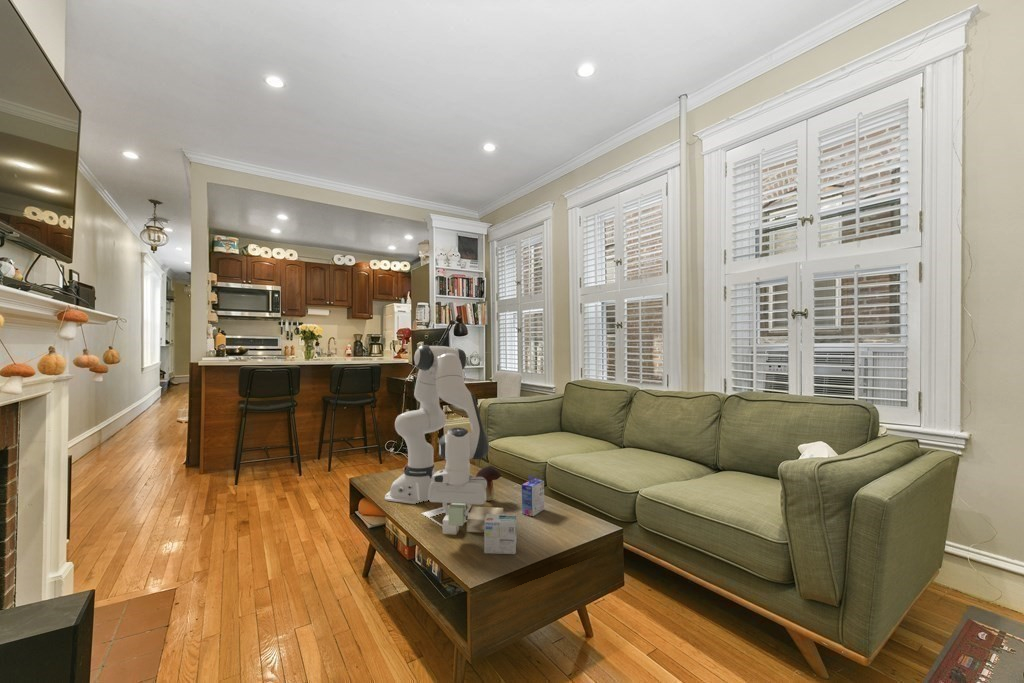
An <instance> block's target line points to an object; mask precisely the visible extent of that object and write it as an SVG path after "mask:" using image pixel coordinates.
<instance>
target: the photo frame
mask: <svg viewBox="0 0 1024 683" xmlns="http://www.w3.org/2000/svg"><path fill="white" fill-rule="evenodd" d="M450 505H451V504H447V506H448V508H449V506H450ZM442 513H445V514H446V510H445V509H444V507H443V506H442V507H438V508H434V509H431V510H427V511H425V512H424V511H423V512H421V513H420V515H421V514H423V515H424V516H423V515H422V516H423V517H425V516H426V517H428V518H429V519H428V518H427V519H428V520H430V519H431V520H432V522H433V521H434V522H433V523H435V524H436V523H437V524H436V525H438V524H439V525H438V526H440V527H441V526H442V527H441V528H443V523H440V522H438V521H437V520H435V519H434V517H433V516H435V517H437V516H436V515H438V516H440V515H439V514H441V515H443V514H442ZM426 517H425V518H426ZM430 517H431V518H430ZM431 520H430V521H431ZM465 522H466V523H467V519H466V520H465ZM465 522H464V524H465Z"/></svg>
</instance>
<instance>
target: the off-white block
mask: <svg viewBox="0 0 1024 683" xmlns="http://www.w3.org/2000/svg"><path fill="white" fill-rule="evenodd" d="M442 525H443V527H442V535H443V534H444V535H457V533H459V530H460V526H454V525H448V515H446V514H445V516H444V517H443V519H442Z"/></svg>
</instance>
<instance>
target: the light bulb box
mask: <svg viewBox="0 0 1024 683" xmlns="http://www.w3.org/2000/svg"><path fill="white" fill-rule="evenodd" d="M517 530H518V529H517V514H516V513H515V514H511V513H510V514H507V513H506V514H504V513H503V514H486V517H485V521H484V534H483V541H484V543H483V549H484V550H483V553H484V554H498V555H499V554H501V555H502V554H503V555H505V554H506V555H516V553H517Z"/></svg>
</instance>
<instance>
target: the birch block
mask: <svg viewBox="0 0 1024 683" xmlns="http://www.w3.org/2000/svg"><path fill="white" fill-rule="evenodd" d="M486 514H504V507H493V506H491V507H490V506H487V507H486V506H471V509H470V512H469V515H468V516H467V517H466V520H467V522H466V532H467V533H483V532H484V521H485V517H486Z"/></svg>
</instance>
